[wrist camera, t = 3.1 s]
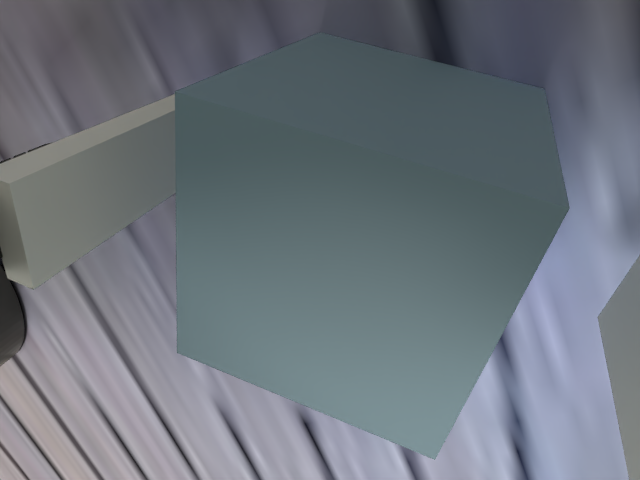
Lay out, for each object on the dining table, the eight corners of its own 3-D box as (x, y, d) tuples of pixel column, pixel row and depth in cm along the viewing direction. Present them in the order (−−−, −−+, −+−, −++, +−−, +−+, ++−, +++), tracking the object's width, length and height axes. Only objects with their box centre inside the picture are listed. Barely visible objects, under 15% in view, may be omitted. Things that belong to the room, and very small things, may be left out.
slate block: (291, 216, 19) (177, 352, 13) (320, 32, 15) (174, 91, 9) (464, 274, 18) (434, 459, 11) (544, 88, 14) (569, 207, 7)
